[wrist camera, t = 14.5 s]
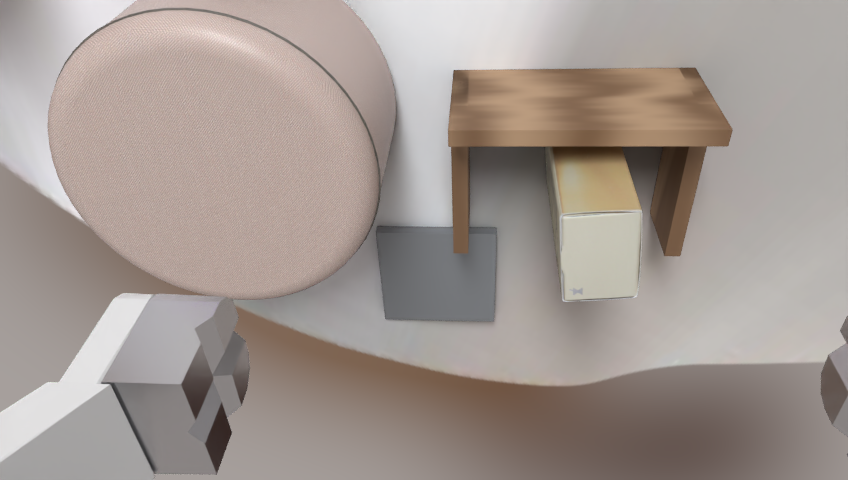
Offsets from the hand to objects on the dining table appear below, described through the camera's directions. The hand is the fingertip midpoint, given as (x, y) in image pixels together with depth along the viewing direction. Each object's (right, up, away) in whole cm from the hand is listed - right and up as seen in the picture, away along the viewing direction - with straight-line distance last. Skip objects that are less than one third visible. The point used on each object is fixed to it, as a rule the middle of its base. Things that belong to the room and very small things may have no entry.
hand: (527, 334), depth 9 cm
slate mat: (0, -1, +44) cm, 44 cm away
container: (-12, +11, +36) cm, 40 cm away
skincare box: (+9, +8, +37) cm, 39 cm away
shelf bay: (+8, +8, +36) cm, 38 cm away
